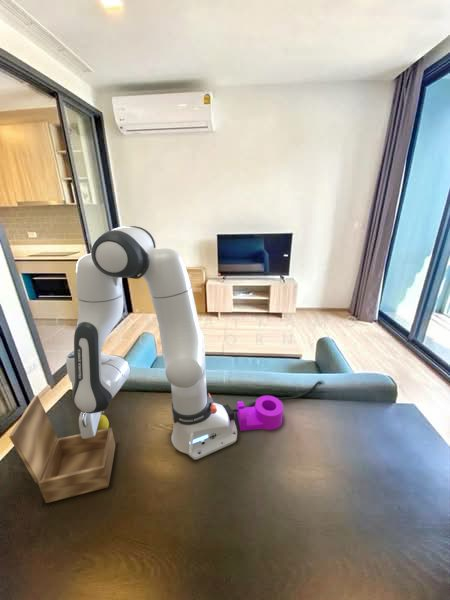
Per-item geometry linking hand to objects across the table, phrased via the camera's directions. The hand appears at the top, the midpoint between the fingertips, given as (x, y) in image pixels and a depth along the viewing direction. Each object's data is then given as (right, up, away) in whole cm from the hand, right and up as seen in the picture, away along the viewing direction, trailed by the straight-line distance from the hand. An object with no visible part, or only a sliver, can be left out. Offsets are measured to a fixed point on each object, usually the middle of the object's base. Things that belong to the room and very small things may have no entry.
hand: (98, 425), depth 85 cm
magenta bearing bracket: (+56, -1, +6) cm, 57 cm away
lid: (-7, +6, -19) cm, 21 cm away
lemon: (+1, -4, +1) cm, 4 cm away
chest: (+1, -8, -11) cm, 14 cm away
